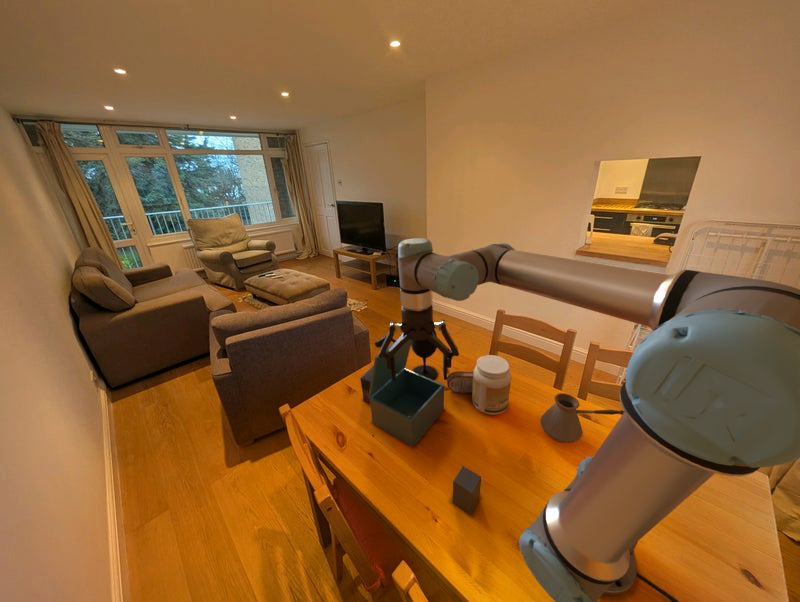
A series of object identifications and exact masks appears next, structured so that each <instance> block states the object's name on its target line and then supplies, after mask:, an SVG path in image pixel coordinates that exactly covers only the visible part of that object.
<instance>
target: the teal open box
mask: <svg viewBox="0 0 800 602" xmlns="http://www.w3.org/2000/svg"><path fill="white" fill-rule="evenodd" d="M369 404H370V411H371V420H372V424H374V425H375V426H377V427H378V428H380V429H381V430H384V431H385V432H386V433H388V434H390V435H392V436H393V437H395V438H396V439H398V440H400V441H402V442H403V443H405V444H406V445H408V446H410V447H411V448H414V447H415V446H416V445H417V443H418V442H419V441H420V440H421V439H422V437H423V436H424V434H426V432H427V431H428V430H429V429H430V427H431V426H432V425H433V424H434V422H435V421H436V420H437V419H438V418H439V416H440V415H441V414H442V413H443V412H444V410H445V385H444V384H443V383H441V382H438V381H436V380H435V379H434V380H431V379H429V378H427V377H424V376H422V375H420V374H417V373H415V372H413V370H410V369H408V368H406V367H405V368H404V369H403V370H402V371H400V372H399V373H398V374H397V375H396V377H395V381H392V379H391V380H390V381H389V382H387V383H386V384H385V385H384V386H383V387H382V388H380V389H379V390H378V391H377V392H376V393H375V394H373V395H372V396H371V397H370V403H369Z"/></svg>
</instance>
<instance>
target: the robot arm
mask: <svg viewBox="0 0 800 602" xmlns="http://www.w3.org/2000/svg"><path fill="white" fill-rule="evenodd" d="M397 247H398V248H397V249H398V250H397V251H398V252H397V256H398V257H397V262H398V263H397V264H398V276H399V293H400V295H399V296H400V304H401V307H400V311H401V322H400V323H396V322H395V321H393V320H392V321H390V323H389V330H388V332H387V334H386V335H387V336H386V338H385V340H384V343H383V345H382V347H381V348H380V349H379V353H378V355H379V357H380V358H386V361H387V368H388V369H391V371H392V381H395V377H396V372H395V358H394V354H395V353H396V352H397V351H398V350H399V349H400V348H401V347H402V346H403V345H404V343H406V342H407V341H408V340H409V339H410V340H412V341H416V340H421V341H424V340H425V339H428V340H429V341H430V342H432V343H433V344H434V345H435V346H436V347H437V350H438V351H440V353H442V375H443V380H444V381H447V377H448V369H451V368H452V360H453V357H459V355H460V352H459V348H458V346H457V344H456V343H455V341H454V339H453V337H452V335H451V333H450V332H449V331H448V329H447V324H446V320H444V319H441V320H440V321H438V322H435V321H434V306H433V302H434V301H433V299H434V296H433V293H434V294H437V295H439V296H441V297H443V298H447V299H449V300H453V301H456V302H457V301H458V302H463V301H466V300H468V299H469V298H470V296H471V295H472V294H474V293H475V292H476V290H477V288H478V286H480V285H483V284H486V283H493V284H497V285H501V286H504V287H509V288H512V289H515V290H519V291H523V292H526V293H530V294H533V295H536V296H540V297H543V298H547V299H551V300H554V301H557V302H561V303H565V304H568V305H572V306H574V307H579V308H582V309H585V310H588V311H593V312H595V313H599V314H602V315H606V316H609V317H613V318H617V319H620V320H623V321H626V322H630V323H634V324H638V325H641V326H644V327H648V328H650V329H651V332H650V333H648V334H646V335H645V336H644V337H643V338H642V340H641V341H640V342H639V343H638V345H636V347H635V349H634V351H633V352H632V354H631V357H630V359H629V361H628V364H627V368H626V373H625V380H624V382H623V383H622V384H621V387H620V388H619V392H618V396H619V397H618V398H619V402H620V405H621V407H622V410H623V411H625V412H624V413H623V415H622V414H621V416H620V418H619V419H618V420H617V422H616V423H615V425H614V426H613V427H612V429H611V430H610V431H609V433H608V435H607V437H606V438H605V439H604V441H603V442H602V444H601V445H600V446H599V448H598V450H597V451H596V452H595V453H594V455H593V456H592V455H591V456H588V457H585V458H583V459H582V460H581V461H580V462H579V464H578V465H577V468H576V474H575V476H574V478H573V479H572V481H571V482H570V483H569V484H568V485H567V486H566V487H565V488H564V489H563V490H562V491H558V492H556V493H554V494H553V495H552V496H551V497H550V498H549V499H548V501H547V503H546V504H545V506H544V507H543V508H542V510H541V512H540V513H539V515H538V516H537V517H536V518H535V520H534V521H533V522H532V523H531V524H530V525H529V526H528V528H527V527H526V528H524V531H523V533H522V534H521V535H520V537H519V539H518V546H519V551H520V554H521V556H522V558H523V560H524V562H525V564H526V566H527V568H528V569H529V571H530V573H531V574H532V576H533V577H534V579H535V580H536V581H537V583H538V584H539V586H540V587H541V588H542V589H543V590H544V592H546V593H547V595H548V596H549V597H550V598H551V599H552V600H553V601H554V602H598V601H599V600H600V598H601V597H602V596H606V597H620V596H623V595H624V594H626V593H627V592H629V591H630V590H631V589H632V587H633V585H634V583H635V580H636V579H639V580H640V581H642V582H644V583H645V584H647V585H648V586H649V587H651V588H652V589H654V590H656V591H657V592H658V593H660V594H661V595H663V596H664V597H666V598H667V599H668V600H670V601H671V602H680V601H679V600H678V599H676V598H675V597H674V596H673V595H671V594H669V593H668V592H667V591H665V590H664V589H662V588H661V587H659V586H658V585H656V584H655V583H653V582H652V581H651V580H649V579H647V578H646V577H645V576H643V575H641V574H640V573H639V572H638V566H637V560H636V555H635V549H636V547H637V545H638V542H639V541H640V540H641V539H642V538H643V537H645V536H646V535H647V534H648V533H649V532H650V531H651V530H652V529H654V528H655V527H656V526H657V525H659V523H660V522H661V521H663V520H664V519H665V518H666V517H667V516H668V515H670V514H671V513H672V512H673V511H674V510H675V509H677V507H679V506H680V505H681V504H682V503H683V502H684V501H685V500H687V499H688V498H689V497H690V496H691V495H693V493H695V492H696V491H697V490H698V489H699V488H700V487H702V486H703V485H705V483H706V482H707V481H708V480H710V479H711V478H712V477H713V476H714V475H715V474H718V475H722V476H727V477H746V476H749V475H752V474H754V473H756V472H757V471H758V470H759V469H761V468H769V467H776V466H781V465H785V464H788V463H792V462H794V461H798V460H799V459H800V288H797V287H794V286H791V285H788V284H783V283H778V282H775V281H770V280H765V279H764V280H763V279H757V278H750V277H743V276H736V275H729V274H720V273H713V272H705V271H699V270H692V269H682V270H680V271H677V272H675V273H673V274H666V273H661V272H660V273H659V272H653V271H647V270H641V269H635V268H628V267H622V266H615V265H610V264H604V263H598V262H590V261H586V260H585V261H584V260H578V259H571V258H565V257H559V256H552V255H547V254H541V253H534V252H529V251H523V250H516V249H515V248H514V247H512V246H511V245H510V244H508V243H503V242H502V243H492V244H488V245H486V246H482V247H478V248H475V249H472V250H467V251H463V252H460V253H455V254H451V255H442V254H439V253H438V254H437V253H435V252H433V251H434V249H433V242H432V241H431V240H429V239H428V238H422V237H421V238H420V237H415V238H407V239H404V240H401V241H400V242H399V243H398V246H397ZM434 329H435V330H436V329H437V331H438V332H440V333H441V334H442V336H443V338H444V340H445V341H446V343H447V345H448V346H447V345H446V344H445V343H444V342H443V341H442V340H440V338H439V337H438V336H437V337H436V336H435V334H434V333H433V330H434ZM399 330H400V331H401V332H402V334H401V335H400V336H399V338H398V339H397V340H396V342H395V343H394V342H393V343H392V344H393V346H392V347H391V348H390V349H389V350H387V348H388V347H390V344H391V342H392V341H391V340H392V338H393V339H394V336H395V334H396V333H398V331H399ZM386 350H387V351H386Z"/></svg>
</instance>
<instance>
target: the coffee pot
mask: <svg viewBox="0 0 800 602" xmlns="http://www.w3.org/2000/svg"><path fill="white" fill-rule="evenodd" d="M553 398H554V404H552V406H550V407H549V408H548V409H547V410H546V411H545V412H544V413H543V414H542V415H541V417H540V419H539V420H540V421H539V422H540V423H539V424H540V426H541V428H542V430H543V432H544V433H545V434H546V436H548V437H549V438H551V439H552V440H553V441H555V442H558V443H560V444H561V443H562V444H574V443H577V442H578V441H580V440H581V439H582V437H583V433H584V432H583V427H582V425H581V421H580V418H579V415H578V414H596V415H611V416H613V415H621V416H622V415H623V413H624V412H625V411H624V409H620V410H617V409H594V410H589V409H588V410H587V409H579V407H580V401H579V400H578V398H576V397H575V396H573V395H571V394H570V393H566V392H560V393H559V392H558V393H557V394H555V395H554V397H553Z"/></svg>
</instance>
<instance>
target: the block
mask: <svg viewBox="0 0 800 602" xmlns="http://www.w3.org/2000/svg"><path fill="white" fill-rule="evenodd" d="M481 487H482V476H481V475H479V474H477V472H474V471H473V470H471V469H470V468H467V467H466V466H464V465H462V466H461V468H460V469H459V471H458V473H457V474H456V476H455V478H454V479H453V480H452V503H453V504H454V505H456V506H457V507H458V508H460V509H461V510H463V511H464V512H466V513H467V514H469V515H471V516H472V513H473V511H474V509H475V508H476V506H477V503H478V502H479V500H480V495H481Z"/></svg>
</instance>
